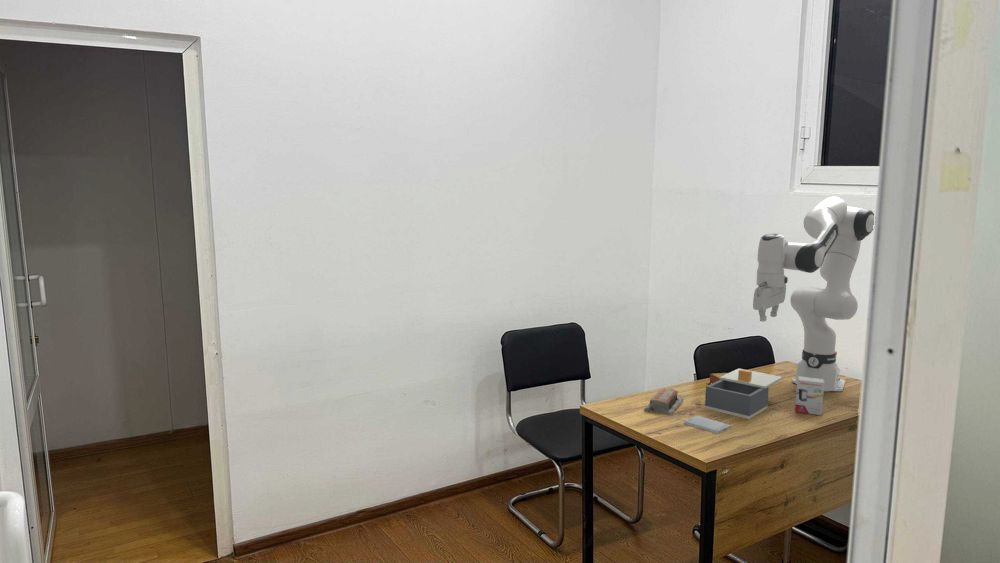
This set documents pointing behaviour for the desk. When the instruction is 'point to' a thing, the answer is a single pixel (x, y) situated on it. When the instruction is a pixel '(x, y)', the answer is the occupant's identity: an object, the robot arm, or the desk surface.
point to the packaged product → (665, 402)
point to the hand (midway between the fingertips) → (768, 318)
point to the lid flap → (751, 378)
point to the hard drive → (707, 424)
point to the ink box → (809, 395)
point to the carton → (716, 377)
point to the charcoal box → (736, 398)
